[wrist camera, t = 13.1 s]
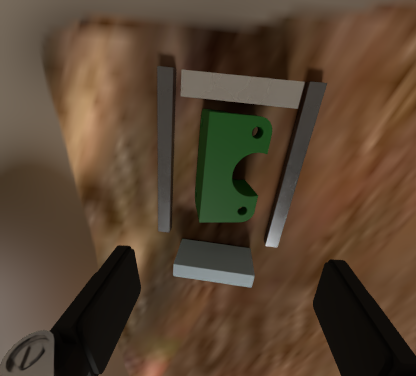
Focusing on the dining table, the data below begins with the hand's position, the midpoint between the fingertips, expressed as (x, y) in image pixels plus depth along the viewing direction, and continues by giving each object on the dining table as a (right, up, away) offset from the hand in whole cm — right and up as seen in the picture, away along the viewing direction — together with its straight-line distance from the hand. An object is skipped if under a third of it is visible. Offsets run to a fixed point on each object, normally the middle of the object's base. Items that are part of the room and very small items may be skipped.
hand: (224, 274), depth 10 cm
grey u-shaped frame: (+2, +8, +14) cm, 16 cm away
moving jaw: (0, -5, +19) cm, 20 cm away
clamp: (+2, +8, +15) cm, 17 cm away
